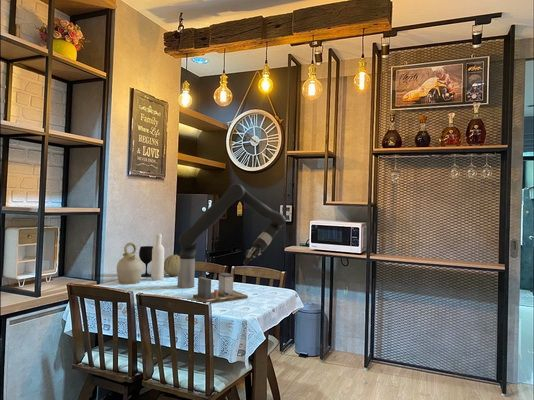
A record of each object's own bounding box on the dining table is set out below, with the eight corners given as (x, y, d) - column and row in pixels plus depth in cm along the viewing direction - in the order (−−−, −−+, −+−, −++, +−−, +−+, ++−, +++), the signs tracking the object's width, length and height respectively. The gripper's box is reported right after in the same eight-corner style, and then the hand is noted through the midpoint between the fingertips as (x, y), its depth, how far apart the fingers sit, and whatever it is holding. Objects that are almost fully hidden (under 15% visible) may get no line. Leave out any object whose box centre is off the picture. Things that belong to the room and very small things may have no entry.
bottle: (158, 277, 268) (160, 233, 268) (166, 279, 263) (167, 234, 263) (148, 279, 262) (150, 233, 262) (155, 281, 257) (157, 234, 257)
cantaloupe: (163, 278, 268) (163, 255, 268) (162, 274, 282) (163, 253, 282) (185, 277, 272) (186, 255, 272) (184, 273, 286) (184, 252, 286)
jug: (115, 280, 254) (116, 241, 254) (140, 279, 260) (141, 241, 261) (117, 285, 240) (118, 244, 240) (143, 284, 246) (145, 243, 247)
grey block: (226, 292, 223) (226, 272, 223) (235, 295, 215) (235, 275, 215) (217, 293, 220) (218, 273, 220) (226, 297, 212) (227, 276, 212)
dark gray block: (202, 295, 215) (203, 276, 215) (210, 298, 208) (211, 279, 208) (197, 295, 213) (198, 277, 213) (205, 299, 206) (206, 280, 206)
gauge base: (232, 292, 230) (232, 289, 230) (247, 298, 217) (247, 295, 217) (192, 297, 215) (192, 294, 215) (206, 304, 203) (207, 300, 203)
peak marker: (215, 297, 210) (216, 289, 210) (217, 297, 209) (218, 290, 209) (213, 297, 209) (214, 289, 210) (215, 298, 208) (216, 290, 208)
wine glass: (137, 277, 268) (138, 247, 268) (139, 274, 278) (140, 245, 278) (153, 277, 270) (154, 247, 270) (154, 274, 280) (155, 246, 281)
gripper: (252, 236, 237) (234, 257, 229) (265, 238, 226) (247, 261, 219) (259, 244, 240) (241, 266, 232) (273, 247, 229) (254, 270, 222)
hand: (244, 263), depth 225 cm, fingers closed
